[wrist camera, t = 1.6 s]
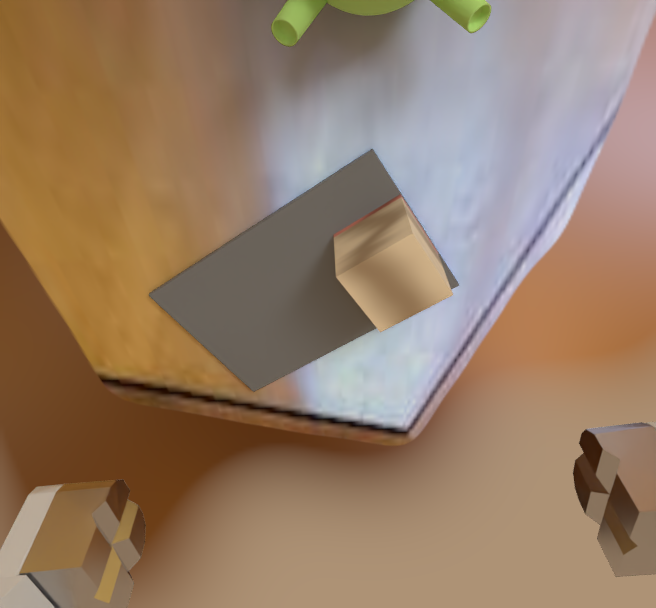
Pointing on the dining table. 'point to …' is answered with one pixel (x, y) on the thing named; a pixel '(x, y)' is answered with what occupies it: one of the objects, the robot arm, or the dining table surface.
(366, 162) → the mat
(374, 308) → the cube
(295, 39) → the teapot
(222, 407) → the dining table surface
